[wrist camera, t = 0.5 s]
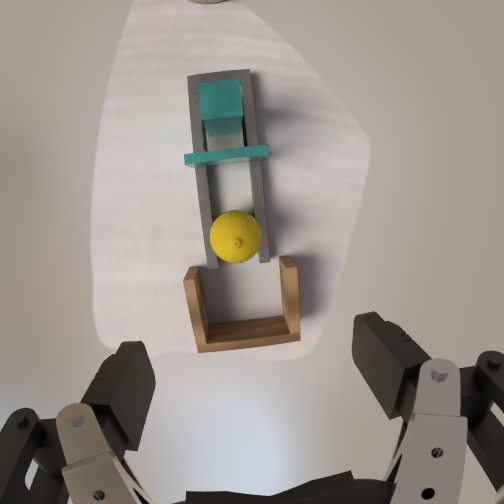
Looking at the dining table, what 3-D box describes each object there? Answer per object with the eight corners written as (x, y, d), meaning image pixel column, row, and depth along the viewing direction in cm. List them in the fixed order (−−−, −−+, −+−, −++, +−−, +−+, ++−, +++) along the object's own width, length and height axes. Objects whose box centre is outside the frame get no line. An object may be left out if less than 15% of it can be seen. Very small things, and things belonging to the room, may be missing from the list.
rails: (188, 80, 29) (187, 76, 28) (248, 73, 30) (249, 69, 28) (209, 265, 35) (208, 269, 33) (268, 258, 35) (270, 262, 34)
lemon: (244, 199, 33) (248, 203, 26) (265, 239, 35) (275, 255, 27) (204, 221, 34) (195, 232, 26) (225, 260, 35) (224, 282, 27)
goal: (189, 267, 35) (183, 280, 30) (288, 255, 35) (297, 266, 30) (201, 332, 37) (198, 352, 32) (292, 322, 38) (300, 340, 33)
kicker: (187, 101, 30) (171, 70, 20) (254, 94, 30) (263, 60, 20) (193, 168, 32) (177, 161, 22) (261, 160, 32) (274, 150, 22)
